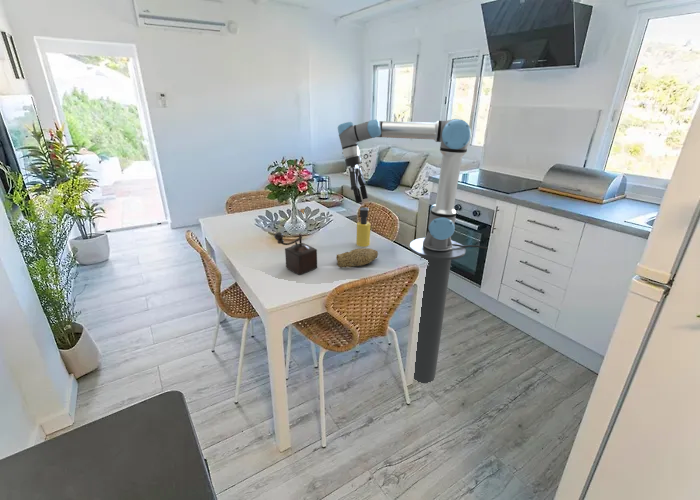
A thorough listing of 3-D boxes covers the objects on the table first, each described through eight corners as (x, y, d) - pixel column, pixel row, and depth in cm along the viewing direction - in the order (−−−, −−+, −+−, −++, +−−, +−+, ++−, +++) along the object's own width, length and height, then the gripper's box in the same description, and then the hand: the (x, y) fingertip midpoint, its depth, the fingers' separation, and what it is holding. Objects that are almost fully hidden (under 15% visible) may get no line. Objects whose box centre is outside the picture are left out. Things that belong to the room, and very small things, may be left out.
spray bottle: (369, 242, 189) (371, 207, 182) (369, 247, 182) (371, 211, 174) (356, 241, 189) (357, 206, 182) (356, 247, 182) (357, 210, 175)
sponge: (339, 273, 156) (383, 263, 157) (336, 257, 154) (379, 246, 155) (337, 265, 168) (377, 256, 169) (334, 250, 166) (374, 240, 168)
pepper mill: (302, 260, 164) (301, 224, 157) (317, 267, 157) (317, 230, 150) (275, 270, 154) (271, 232, 147) (289, 279, 147) (287, 239, 140)
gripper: (351, 158, 178) (360, 198, 182) (337, 159, 155) (348, 206, 159) (365, 154, 176) (374, 195, 180) (353, 155, 152) (364, 202, 157)
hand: (362, 200), depth 170 cm, fingers open, 13 cm apart
